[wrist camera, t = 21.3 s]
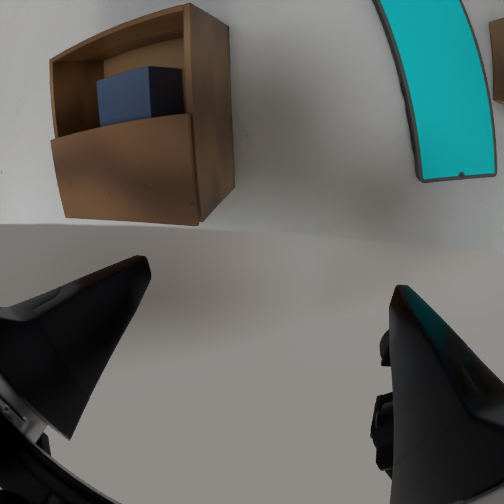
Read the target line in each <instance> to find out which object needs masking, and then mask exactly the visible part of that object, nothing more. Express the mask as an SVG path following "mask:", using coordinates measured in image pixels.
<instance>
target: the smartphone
mask: <svg viewBox="0 0 504 504" xmlns="http://www.w3.org/2000/svg"><path fill="white" fill-rule="evenodd" d="M373 2H374V4H375V6H376V9H377V11H378V14H379V16H380V19H381V21H382V24H383V27H384V29H385V32H386V35H387V38H388V41H389V44H390V47H391V50H392V53H393V57H394V60H395V63H396V67H397V70H398V74H399V78H400V82H401V88H402V93H403V96H404V99H405V103H406V111H407V116H408V122H409V127H410V133H411V140H412V147H413V152H414V157H415V166H416V176H417V178H418V179H419V180H420V181H421V182H422V183H429V182H439V181H449V180H461V179H471V178H483V177H494V176H496V174H497V155H496V138H495V127H494V119H493V111H492V104H491V98H490V92H489V87H488V82H487V78H486V73H485V69H484V65H483V61H482V57H481V54H480V50H479V47H478V43H477V40H476V37H475V34H474V31H473V28H472V25H471V23H470V20H469V17H468V15H467V12H466V10H465V7H464V5H463V3H462V0H373Z"/></svg>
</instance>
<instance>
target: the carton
mask: <svg viewBox="0 0 504 504" xmlns="http://www.w3.org/2000/svg"><path fill="white" fill-rule="evenodd" d="M146 66H157V67H168V68H177V69H182V89H183V107H184V114H185V113H190V117H191V135H192V150H193V163H194V176H195V188H196V199H197V209H198V219H199V222H203V221H204V220H205V219H206V218H207V217H208V216H209V215H210V214H211V213H212V211H213V210H214V209H215V208H216V207H217V206H218V205H219V204H220V203H221V202H222V201H223V199H224V198H225V197H226V196H227V195H228V194H229V193H230V192H231V191H232V190H233V189H234V188H235V185H234V164H233V141H232V116H231V88H230V56H229V26H227V25H226V24H224V23H223V22H221V21H219V20H218V19H216V18H215V17H213V16H212V15H210V14H208V13H207V12H205V11H203V10H202V9H200V8H198V7H196V6H195V5H193V4H191V3H188V4H184V5H179V6H175V7H172V8H168V9H164V10H161V11H158V12H154V13H151V14H148V15H145V16H142V17H139V18H136V19H134V20H131V21H128V22H125V23H123V24H120V25H118V26H115V27H113V28H111V29H108V30H106V31H104V32H101V33H99V34H97V35H95V36H93V37H91V38H88V39H86V40H84V41H82V42H80V43H78V44H77V45H75V46H73V47H71V48H69V49H67V50H65V51H64V52H62V53H60V54H58V55H57V56H55V57H53V58H52V59H50V92H51V105H52V116H53V125H54V133H55V139H56V138H59V137H63V136H66V135H70V134H74V133H78V132H82V131H86V130H90V129H94V128H98V127H100V118H99V107H98V95H97V81H99V80H102V79H105V78H108V77H111V76H114V75H117V74H120V73H124V72H127V71H131V70H134V69H138V68H142V67H146Z"/></svg>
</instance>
